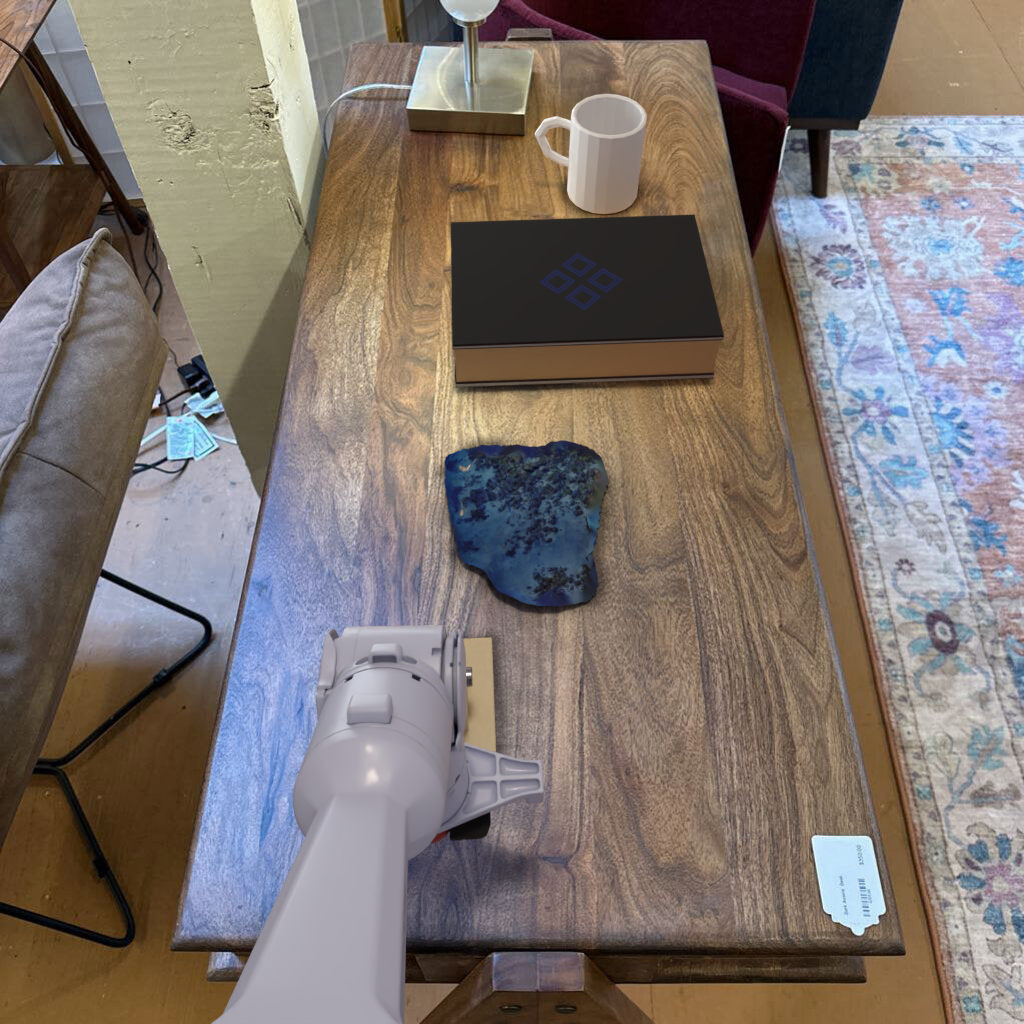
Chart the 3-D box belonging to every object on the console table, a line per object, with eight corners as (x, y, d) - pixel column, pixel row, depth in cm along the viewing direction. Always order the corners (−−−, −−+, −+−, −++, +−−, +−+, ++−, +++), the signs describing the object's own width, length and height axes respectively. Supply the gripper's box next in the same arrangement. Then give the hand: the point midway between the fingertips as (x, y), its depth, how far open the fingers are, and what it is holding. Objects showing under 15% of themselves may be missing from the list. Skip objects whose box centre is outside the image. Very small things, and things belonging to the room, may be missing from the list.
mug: (538, 165, 110) (540, 87, 102) (639, 174, 109) (649, 96, 101) (529, 208, 105) (530, 130, 97) (634, 217, 104) (644, 139, 96)
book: (454, 272, 99) (450, 221, 94) (684, 264, 100) (694, 213, 94) (455, 393, 90) (452, 344, 84) (711, 384, 90) (724, 335, 85)
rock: (607, 451, 85) (609, 438, 84) (604, 616, 76) (605, 605, 74) (449, 444, 86) (448, 431, 85) (427, 607, 77) (424, 595, 75)
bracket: (497, 778, 68) (495, 740, 62) (375, 783, 68) (360, 746, 62) (492, 643, 74) (490, 596, 68) (380, 648, 74) (367, 601, 68)
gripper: (540, 682, 53) (536, 763, 64) (287, 692, 53) (327, 772, 64) (548, 804, 49) (542, 868, 60) (275, 817, 49) (320, 879, 60)
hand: (431, 826), depth 62 cm, fingers closed on lever, 3 cm apart
